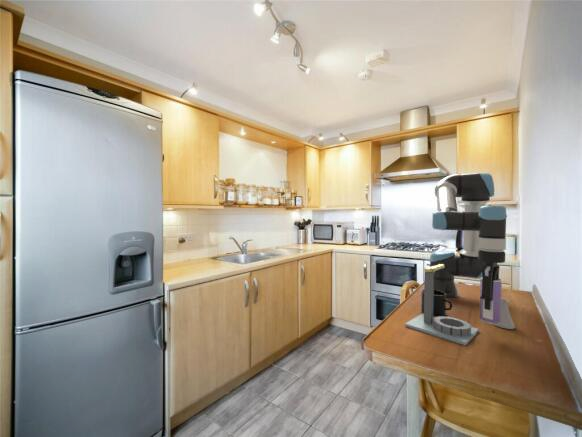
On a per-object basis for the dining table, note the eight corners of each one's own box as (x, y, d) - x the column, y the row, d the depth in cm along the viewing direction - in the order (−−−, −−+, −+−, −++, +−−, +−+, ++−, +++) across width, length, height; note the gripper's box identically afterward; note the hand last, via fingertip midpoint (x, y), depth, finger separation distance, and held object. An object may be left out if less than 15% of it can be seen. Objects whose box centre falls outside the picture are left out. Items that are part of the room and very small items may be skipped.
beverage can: (498, 326, 88) (499, 281, 88) (477, 320, 93) (478, 278, 92) (502, 321, 92) (503, 278, 92) (482, 316, 97) (482, 275, 96)
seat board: (421, 315, 112) (422, 267, 112) (478, 331, 97) (479, 276, 97) (405, 326, 101) (405, 272, 101) (465, 345, 86) (466, 283, 86)
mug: (448, 320, 107) (449, 298, 107) (418, 312, 116) (418, 291, 116) (455, 314, 114) (455, 293, 114) (425, 307, 122) (426, 288, 122)
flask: (493, 320, 108) (493, 296, 108) (516, 326, 103) (516, 300, 103) (489, 325, 103) (490, 300, 103) (514, 331, 98) (514, 304, 97)
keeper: (422, 271, 102) (422, 268, 102) (437, 266, 113) (437, 263, 113) (432, 273, 100) (432, 269, 100) (446, 267, 110) (446, 265, 110)
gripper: (485, 246, 101) (483, 306, 102) (471, 251, 88) (469, 319, 89) (510, 248, 95) (508, 311, 96) (499, 254, 83) (497, 327, 83)
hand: (490, 315), depth 92 cm, fingers closed on beverage can, 6 cm apart
